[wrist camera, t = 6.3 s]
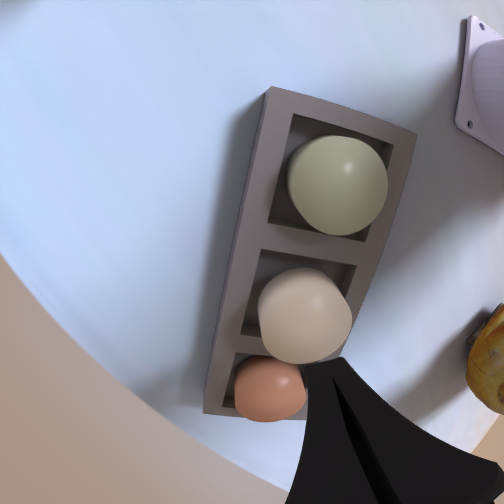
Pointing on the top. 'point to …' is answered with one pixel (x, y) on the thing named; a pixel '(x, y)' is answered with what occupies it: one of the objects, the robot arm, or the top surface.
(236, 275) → the panel
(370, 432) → the robot arm
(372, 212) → the sage button
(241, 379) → the terracotta button
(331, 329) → the ivory button
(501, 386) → the decorative figurine
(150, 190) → the top surface
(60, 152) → the top surface
